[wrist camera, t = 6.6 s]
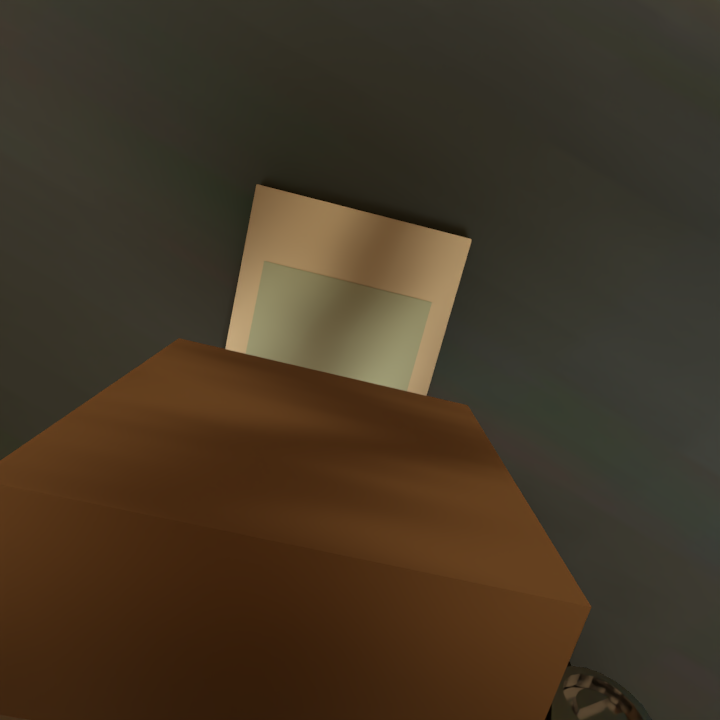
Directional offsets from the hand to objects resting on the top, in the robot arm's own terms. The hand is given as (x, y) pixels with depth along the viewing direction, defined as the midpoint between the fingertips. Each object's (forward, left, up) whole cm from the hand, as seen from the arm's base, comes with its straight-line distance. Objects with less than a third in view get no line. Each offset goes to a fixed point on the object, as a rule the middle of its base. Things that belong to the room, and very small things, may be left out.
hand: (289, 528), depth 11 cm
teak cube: (0, 0, -1) cm, 1 cm away
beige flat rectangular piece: (0, 0, -14) cm, 14 cm away
